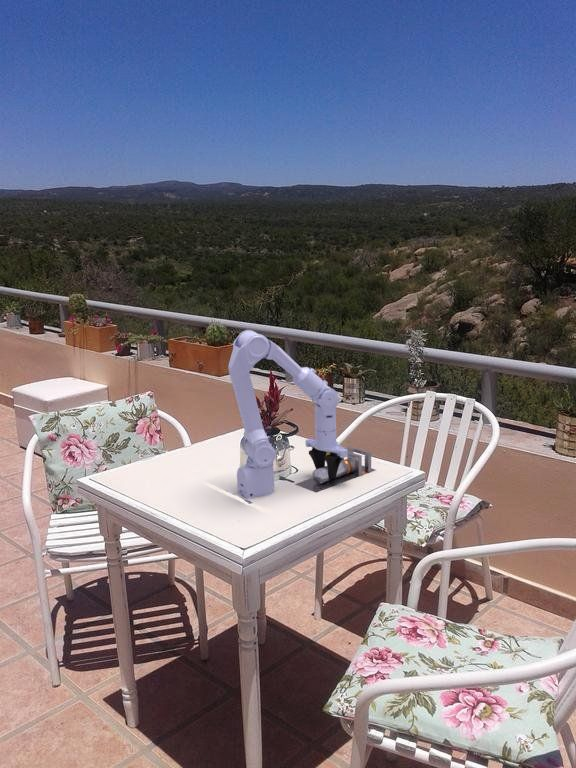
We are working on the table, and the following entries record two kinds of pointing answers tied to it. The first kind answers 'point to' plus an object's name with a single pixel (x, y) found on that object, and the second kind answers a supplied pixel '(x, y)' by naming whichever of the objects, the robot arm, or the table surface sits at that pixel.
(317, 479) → the tube
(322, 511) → the table surface
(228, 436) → the table surface
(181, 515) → the table surface
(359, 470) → the grey holder stand
